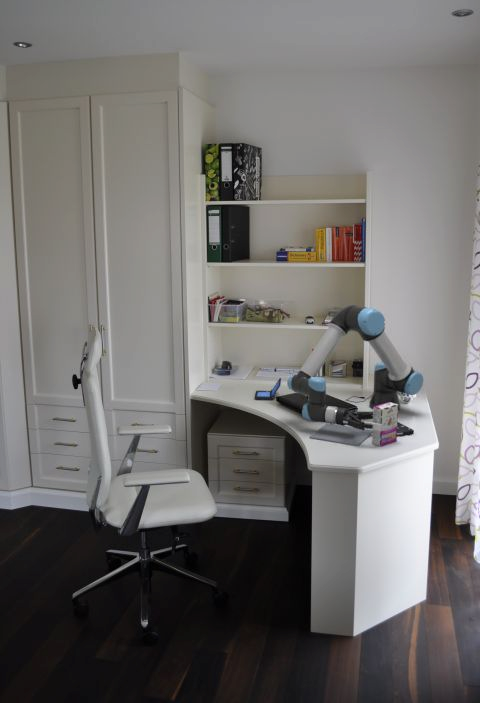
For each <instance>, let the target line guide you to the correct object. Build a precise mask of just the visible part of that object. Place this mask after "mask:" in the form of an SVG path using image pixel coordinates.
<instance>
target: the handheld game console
mask: <svg viewBox="0 0 480 703" xmlns="http://www.w3.org/2000/svg"><path fill="white" fill-rule="evenodd" d="M281 384H282V377H279V378H278V380H277V382H276V383H275V384H274V386H273V388H272V389H271V390H256V391H255V395H254V401H269V402H270V401H273V397H274V396H275V395H276V393H277V391H278V390H279V389H280V387H281Z"/></svg>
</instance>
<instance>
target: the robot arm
mask: <svg viewBox="0 0 480 703" xmlns="http://www.w3.org/2000/svg"><path fill="white" fill-rule="evenodd" d="M385 322H386V319H385V316H384V315H383V313H382V312H381V311H380V310H378V309H376V308H373V307H366V306H360V305H357V304H356V305H355V304H354V305H353V304H351V305H347V306H344V307H343V308H342V309H340V310H339V311H337V313H336V314H335V315H334V316H333V317H332V319H331V320H330V321H329V322H328V325H327V326H328V328H327V330H326V331H325V332H324V334H323V335H322V337H321V339H319V341H318V342H317V344H316V346H315V347H314V348H313V350H312V352H311V353H310V354H309V356H308V357H307V359H306V361H304V363H303V365H302V366H301V368H300V369H299V371H298V372H297V374H292V375H290V376H289V377H288V379H287V384H286V385H287V388H288V389H289V390H290V391H293V392H294V393H297V394H300V395H302V396H305V397H307V396H308V398H307V401H308V402H306V403H304V404H303V406H302V410H301V414H302V418H303V419H304V420H306V421H312V422H316V423H317V422H319V423H325V424H326V423H328V424H330V425H331V424H334V425H341V426H347V427H354V428H357V429H360V430H365V429H367V430H378V431H381V424H377V423H373V422H370V421H367V420H373V411H358V410H357V411H356V410H353V411H352V412H349V410H348V408H345V407H338V406H332V405H331V406H330V405H326V392H327V381H326V379H325V378H324V377H320V376H317V375H318V374H319V372H320V370H321V369H322V367H324V365H325V363H326V362H327V360H328V358H329V357H330V356H331V354H332V353H333V351H334V350H335V348H336V346H338V345H339V344H338V343H340V341H341V340H342V338H343V337H346V336H347V335H348V334H349V333H350V332H351V331H352V332H356V333H357V334H358V335H359V336H360V338H361V339H362V341H364V342H368V344H369V345H370V346H371V348H372V350H374V353H376V355H377V357H378V358H379V359H380V361H381V362H378V363H376V364H375V365H374V370H373V392H372V395H371V396H370V397H371V398H370V400H369V404H368V407H369V408H370V409H372V410H373V407H375V406H378V405H382V404H385V403H389V402H391V403H395V404H398V411H399V410H400V409H401V402H400V399H399V394H398V393H402V394H404V395H407V396H414V395H417V394H418V393H419V392H420V391H421V389H422V387H423V385H424V375H423V374H422V372H419V371H418V370H417V371H416V370H415V369H414V368H413V367H412V365H411V364H410V363H409V362H407V361H405V360H404V359H403V358H402V355H400V353H399V351H398V350H397V348H396V347H395V346H394V344H393V342H392V341H391V339H390V338H389V336H388V335H387V333H386V332H385V329H386V323H385ZM364 420H365V421H364Z"/></svg>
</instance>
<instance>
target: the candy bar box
mask: <svg viewBox="0 0 480 703" xmlns="http://www.w3.org/2000/svg"><path fill="white" fill-rule="evenodd" d="M372 412H373V419H372V423H377V424H381V431H378V430H373V431H372V434H371V436H372V438H371V443H372V445H374V446H378V447H382V446H386V445H389V444H392V443H395V442H397V440H398V437H397V422H399V421H398V418H399V410H398V404H395V403H391V402H389V403H385V404H382V405H378V406H375V407H373V409H372Z"/></svg>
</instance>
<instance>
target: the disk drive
mask: <svg viewBox="0 0 480 703" xmlns="http://www.w3.org/2000/svg"><path fill="white" fill-rule="evenodd" d="M412 434H415V432H414V429H412V428H410V427H409V426H407V425H405V424H403V423H401V422H399V421H398V422H397V438H398V436H399V437H406V436H405V435H408V436H413V435H412Z"/></svg>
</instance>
